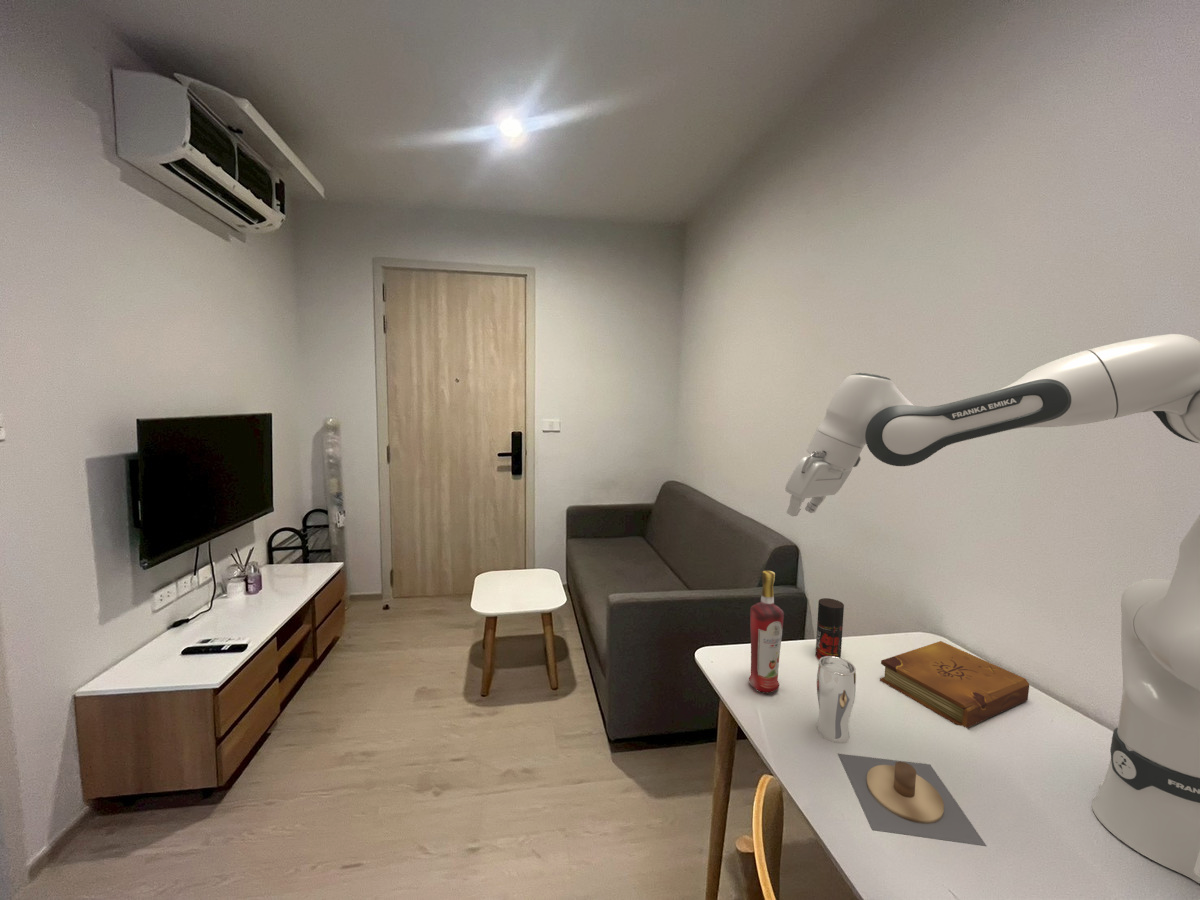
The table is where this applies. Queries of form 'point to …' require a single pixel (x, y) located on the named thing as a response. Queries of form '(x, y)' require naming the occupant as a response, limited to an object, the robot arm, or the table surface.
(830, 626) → the deodorant
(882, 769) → the oak lid
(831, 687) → the beer glass
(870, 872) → the table surface
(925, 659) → the diary
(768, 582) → the liquor
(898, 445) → the robot arm
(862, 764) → the rubber mat
